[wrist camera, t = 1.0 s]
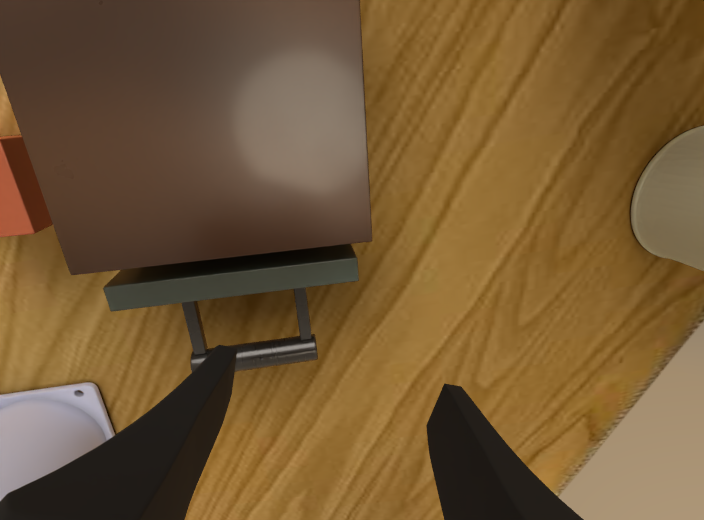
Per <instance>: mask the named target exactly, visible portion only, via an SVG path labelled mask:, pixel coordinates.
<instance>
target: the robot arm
mask: <svg viewBox="0 0 704 520" xmlns="http://www.w3.org/2000/svg"><path fill="white" fill-rule="evenodd" d="M237 350H238V348H234V347H228V346H223V345H218V346H216V347H215V348H214V349H213V351H212V352H211V353H210V354H209V355H208V356H207V358H206V359H205V360H204V361H203V362H202V363H201V364H200V365H199V366H198V367H197V368H196V369H195V370H194V371H193V372H192V373H191V374H190V375H189V376H188V377H187V378H186V379H185V380H184V381H183V382H182V383H181V384H180V385H179V386H178V387H177V388H176V389H174V390H173V391H172V392H171V393H170V394H169V395H167V396H166V397H165V398H164V399H163V400H162V401H161V402H159V403H158V404H157V405H156V406H155V407H153V408H152V409H151V410H150V411H148V412H147V413H146V414H144V415H143V416H142V417H140V418H139V419H138V420H136V421H135V422H134V423H132V424H131V425H129V426H128V427H127V428H125V429H124V430H122V431H121V432H119V433H118V434H116V435H115V433H114V431H113V428H112V425H111V422H110V420H109V417H108V414H107V411H106V409H105V406H104V403H103V400H102V398H101V395H100V392H99V390H98V387H97V386H96V385H95V384H94V383H91V382H87V383H80V384H73V385H66V386H59V387H52V388H45V389H38V390H31V391H24V392H17V393H10V394H3V395H0V520H184V519H185V516H186V513H187V510H188V506H189V503H190V501H191V498H192V495H193V493H194V490H195V488H196V485H197V483H198V481H199V478H200V476H201V473H202V471H203V469H204V466H205V464H206V462H207V459H208V457H209V455H210V452H211V450H212V448H213V445H214V443H215V440H216V438H217V436H218V433H219V431H220V429H221V426H222V424H223V421H224V417H225V414H226V411H227V408H228V404H229V401H230V397H231V394H232V387H233V379H234V372H235V365H236V357H237ZM78 390H80V391H82V392H83V393H80V392H78ZM427 435H428V445H429V454H430V459H431V463H432V468H433V472H434V477H435V481H436V485H437V490H438V494H439V498H440V503H441V507H442V511H443V516H444V520H583V519H582V518H581V517H580V516H579V515H577V514H576V513H575V512H574V511H573V510H572V509H571V508H569V507H568V506H567V505H566V504H565V503H564V502H562V501H561V500H560V499H559V498H558V497H557V496H556V495H555V494H554V493H553V492H552V491H551V490H550V489H549V488H548V487H547V486H546V485H545V484H544V483H543V482H542V481H541V480H540V479H539V478H538V477H537V476H536V475H535V474H533V473H532V471H531V470H530V469H529V468H528V467H527V466H526V465H525V464H524V463H523V462H522V461H521V460H520V458H519V457H518V456H517V455H516V454H515V453H514V452H513V451H512V449H511V448H510V447H509V446H508V445H507V444H506V442H505V441H504V440H503V439H502V438H501V436H500V435H499V434H498V433H497V432H496V430H495V429H494V428H493V427H492V425H491V424H490V423H489V422H488V420H487V419H486V418H485V416H484V415H483V414H482V413H481V411H480V410H479V409H478V407H477V406H476V405H475V403H474V402H473V401H472V400H471V398H470V397H469V396H468V394H467V393H466V392H465V391H464V390H463V388H462V387H461V386H455V385H449V384H444V386H443V388H442V391H441V393H440V395H439V398H438V400H437V402H436V405H435V407H434V409H433V412H432V414H431V416H430V419H429V421H428V423H427Z"/></svg>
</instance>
